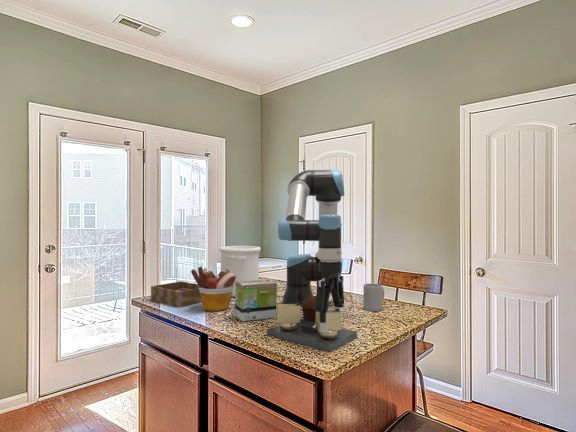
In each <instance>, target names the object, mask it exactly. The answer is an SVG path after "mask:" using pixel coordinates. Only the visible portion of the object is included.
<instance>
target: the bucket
mask: <svg viewBox="0 0 576 432" xmlns="http://www.w3.org/2000/svg"><path fill="white" fill-rule="evenodd" d="M261 250H262V249H261V247H260V246H254V245H230V246H229V245H227V246H219V247H218V251H219V252H220V272H221V271H223V272H226V268H229V269H230V271H232V272H233V274H235V275H236V279H235V282H234V284H233V285H234V288H233V291H232V296H231V298H235V286H236V282H238V281H254V280H260V279H259V278H260V277H259V262H260V261H259V260H260V259H259V255H260V253H259V252H261ZM226 273H227V272H226Z"/></svg>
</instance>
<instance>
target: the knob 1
mask: <svg viewBox="0 0 576 432" xmlns="http://www.w3.org/2000/svg"><path fill="white" fill-rule="evenodd" d="M300 319H301V306H300V305H299V303H296V304H284V303H278V304H276V323H277V324H279V325H280V328H281V329H284V330H293V329H296V328H297V323H300Z"/></svg>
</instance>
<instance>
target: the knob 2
mask: <svg viewBox="0 0 576 432" xmlns="http://www.w3.org/2000/svg"><path fill="white" fill-rule="evenodd" d="M327 312H328V333H323V332H320V312H317V311H316V330H317V331H318V332H319V336H320V337H322V338H327V339H332V338H336V337H337V330H341V328H342V311H341V312H340V310H339V309H335V310H333V309H331V310H328V311H327Z"/></svg>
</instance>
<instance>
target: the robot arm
mask: <svg viewBox="0 0 576 432" xmlns="http://www.w3.org/2000/svg"><path fill="white" fill-rule="evenodd" d="M287 194H288V201H287V207H286V214H285V219H280V220H278V224H277V225H278V226H277V235H278V236H277V237H278V239H279V240H281V241H289V242H294V241H295V242H296V241H298V242H300V241H301V242H305V241H307V242H308V241H309V242H318V250H317V251H316V253H315V255H314V257H313V256H312V255H311V254H309V253H304V254H303V253H302V254H296V255H295V254H294V255H291V256H288V258H287V260H286V287H285V291H284V294H283V297H282V304H296V303H299V305H300V307H301V304H302V302H303V301H304V300H305V299H306V298H308V297H310V296H314V295H313V291H312V287H311V285H312V284H311V283H312V282H316V295H315V296H316V311H317V312H320V332H323V333H328V312H327V307H328V303H329V301H330V296H331V298H332V301H333V302H332V303H333V306H332V310H335V309H339V310H340V312H341V313H342V310H341V308H344V306H345V305H344V304H345V296H344V284H343V283H344V276H343V275H342V272H343V262H344V261H343V258H342V254H343V252H342V217H341V215H340V214H338V204H339V203H340V202H341V201H342V197H344V196H345V186H344V177H343V173H342V172H341V171H340V170H337V169H313V170H311V169H308V170H304V171H303V170H302V171H301V172H298V174H296V175H294V176H293V178H292V179H291V180H290V181H289V184H288V186H287ZM310 196H311V197H315V201H316V202H317V203H318V220H317V219H312V220H311V219H306V214H307V213H306V212H307V211H306V210H307V199H308V197H310Z"/></svg>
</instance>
